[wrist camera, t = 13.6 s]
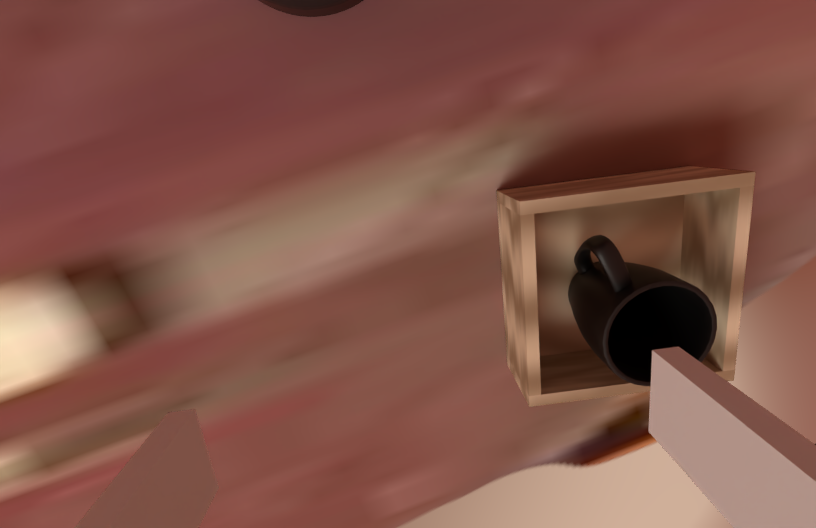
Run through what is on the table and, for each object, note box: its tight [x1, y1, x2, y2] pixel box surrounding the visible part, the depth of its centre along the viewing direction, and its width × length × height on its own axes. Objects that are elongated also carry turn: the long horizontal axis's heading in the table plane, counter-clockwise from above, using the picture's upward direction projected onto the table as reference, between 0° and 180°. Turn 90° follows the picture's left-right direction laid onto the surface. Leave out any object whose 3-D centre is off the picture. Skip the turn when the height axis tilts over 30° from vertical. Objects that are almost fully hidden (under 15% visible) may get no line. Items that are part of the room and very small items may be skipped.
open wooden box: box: [497, 166, 756, 407], centre depth 36 cm, size 17×17×7 cm
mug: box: [568, 235, 717, 386], centre depth 34 cm, size 8×12×10 cm
